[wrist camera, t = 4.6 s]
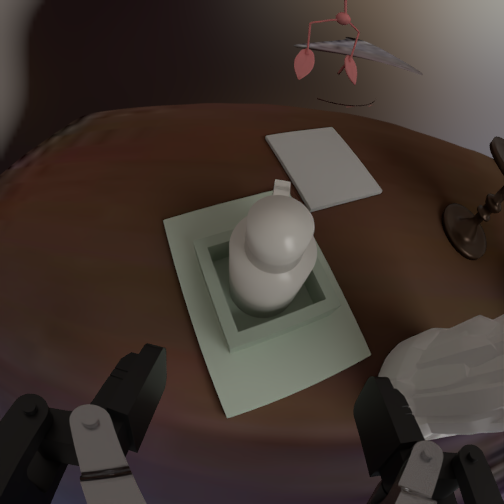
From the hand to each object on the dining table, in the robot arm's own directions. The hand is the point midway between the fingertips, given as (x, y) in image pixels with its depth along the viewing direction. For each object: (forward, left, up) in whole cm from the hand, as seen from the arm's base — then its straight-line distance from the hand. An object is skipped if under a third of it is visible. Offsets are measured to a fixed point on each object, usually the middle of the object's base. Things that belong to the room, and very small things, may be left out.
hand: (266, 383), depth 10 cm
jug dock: (+8, -5, -14) cm, 17 cm away
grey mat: (+21, -19, -14) cm, 31 cm away
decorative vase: (-8, -16, -14) cm, 22 cm away
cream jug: (+9, -5, -13) cm, 17 cm away
